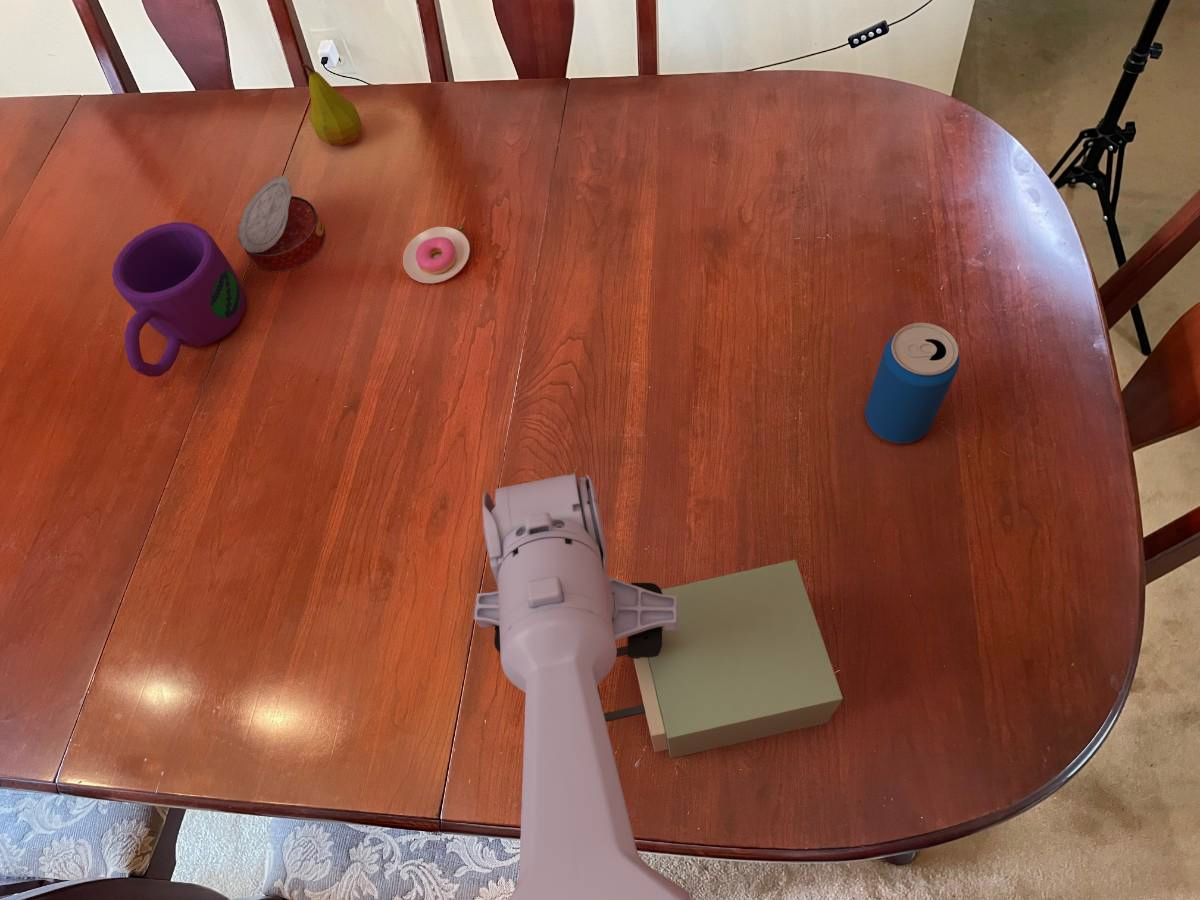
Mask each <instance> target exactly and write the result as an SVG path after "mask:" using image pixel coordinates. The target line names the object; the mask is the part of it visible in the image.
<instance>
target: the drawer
mask: <svg viewBox="0 0 1200 900" xmlns="http://www.w3.org/2000/svg"><path fill="white" fill-rule="evenodd" d="M616 649H617V655H616V658H620V657H624V656H627V649H628V645H625V646H621V647H616ZM633 663H634V666H635V667H634V668H635V671H636V675H637V680H638V686H639V689H640V694H641V697H642V703H643V704H640V705H635V706H631V707H627V708H622V709H618V710H613V711H608V712H604V710H603V712H604V717H605V721H606V723H608V722H613V721H618V720H623V719H627V718H630V717H631V718H632V717H635V716H638V715H644V714H645V718H646V721H647V725H648V730H649V734H650V735H649V736H650V740H651V743H652V748H653V752H654V753H659V752H663V751H667V750H668V743H667V736H666V730H665V726H664V722H663V717H662V713H661V709H660V704H659V700H658V696H657V691H656V687H655V683H654V679H653V674H652V670H651V666H650V661H649V657H640V658H639V659H633ZM597 688H598V692H599V696H600V700H601V704H602V708H603V709H604V706H603V702H602V701H603V700H602V696H601V691H600V686H599V685H598V686H597Z"/></svg>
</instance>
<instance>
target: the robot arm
mask: <svg viewBox="0 0 1200 900" xmlns="http://www.w3.org/2000/svg"><path fill="white" fill-rule="evenodd" d="M494 494H495V495H494V502H495V503H494V502H493V499H492V496H491V495H490V494H489V492H487V491H485V492H483V494H482V527H483V534H484V535H483V536H484V539H485V546H486V550H487V555H488V558H489V564H490V569H491V572H492V574H493V577H494V580H495V581H494V582H495V583H496V586H497V590H496V591H491V592H478V593H476V598H475V607H474V614H473V620H474V621H475V623H476V624H477V625H478V628H482V629H483V628H484V629H485V628H486V629H489V628H490V629H491V628H494V640H493V641H494V642H493V643H494V644H493V645H494V648H495V649H496V651H497V652H498V653H499V655H500V666H501V669H502V672H503V673H504V676H505V677H506V679H507V680H508V681H509V682H510V683H511V684H512V685H513V686H514V687H516V689H518V690H520V691H522V692H523V693H524V694H525V700H524V701H525V702H524V725H523V726H524V727H523V755H522V757H523V758H522V782H521V783H522V784H521V809H520V810H521V812H520V839H519V840H520V841H519V842H520V843H519V864H518V865H519V867H518V879H517V882H516V886H515V888H514V890H513V892H512V893H511V895H510V896H509V898H508V899H507V900H692V899H691V895H690V893H689V892H688V891H687V890H686V889H685V888H683V887H682V886H681V885H679V884H678V883H676V882H674V881H673V880H671V879H669V878H668V877H667V876H665V875H664V874H662V873H660V872H659V871H657V870H656V869H654V868H653V867H651V866H649V865H648V864H647V863H646V861H644V860H643V859H642V858H641V856H640V854H639V852H638V849H637V844H636V840H635V837H634V833H633V828H632V824H631V820H630V816H629V812H628V808H627V803H626V800H625V795H624V791H623V787H622V782H621V780H620V774H619V771H618V766H617V762H616V759H615V755H614V749H613V745H612V742H611V738H610V734H609V729H608V724H607V722H606V721H605V717H604V713H605V712H603V711H604V707H603V708H602V706H603V703H602V704H601V701H602V699H601V700H600V696H601V695H600V696H599V692H598V688H597V686H599V684H600V683H601V682H602V681H603V680H604V679H605V678H606V677H607V676H608V675H609V674H610V672H611V670H612V669H613V667H614V665H615V664H616V660H617V657H616V655H617V649H616V648H617V643H616V641H619V640H622V639H625V638H627V646H628V649H627V655H626V656H627V658H630V659H633V660H634V659H639V658H640V657H656V656H658V655H659V653H660V651H661V648H662V628H663V629H664V630H666V631H677V596H676V595H663V594H662V591H661V590H662V589H661V587H660V586H659V585H657V584H655V583H654V582H631V583H629V582H626V581H623V580H620V579H617V578H615V577H612V576H609V574H608V567H607V563H608V562H607V561H608V546H607V545H608V544H607V540H606V534H605V529H604V524H603V520H602V518H603V517H602V514H601V508H600V504H599V499H598V494H597V489H596V486H595V484H594V482H593V480H592V478H590V475H589V474H586V475H585V476H582V477H579V478H578V476H577V473H576V472H573V473H567V474H562V475H557V476H553V477H547V478H542V479H538V480H533V481H527V482H523V483H518V484H512V485H508V486H502V487H497V488H496V490H495V493H494Z"/></svg>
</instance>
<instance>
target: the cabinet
mask: <svg viewBox="0 0 1200 900" xmlns="http://www.w3.org/2000/svg"><path fill="white" fill-rule="evenodd" d="M801 574H802V573H801V571H800V568H799V565H798V563H797V560H796V559H792V560H787V561H782V562H778V563H773V564H769V565H765V566H760V567H756V568H752V569H747V570H743V571H738V572H733V573H729V574H725V575H720V576H716V577H712V578H708V579H707V578H706V579H702V580H698V581H693V582H689V583H685V584H680V585H676V586H671V587H667V588H662V589H661V591H662V594H663V595H676V596H677V631H666V630H664V629H663V628H662V648H661V651H660V653H659V655H658V656H656V657H649V661H650V666H651V670H652V674H653V679H654V683H655V687H656V691H657V696H658V700H659V704H660V709H661V713H662V717H663V722H664V726H665V730H666V736H667V743H668V749H667V750H668V754H669V758H670V759H675V758H679V757H683V756H688V755H689V756H690V755H693V754H698V753H701V752H705V751H710V750H714V749H719V748H723V747H729V746H732V745H737V744H741V743H746V742H750V741H753V740H759V739H763V738H769V737H772V736H776V735H780V734H784V733H790V732H793V731H798V730H802V729H807V728H811V727H815V726H820V725H824V724H828V723H829V721H830V720H831V718H832V716H833V715H834V713H835V712H836V710H838V709H837V708H838V707H839V705H840V704H841V703H842V701H843V699H844V698H843V694H842V692H841V689H840V685H839V683H838V679H837V676H836V674H835V671H834V668H833V665H832V662H831V660H830V659H831V658H830V656H829V654H828V650H827V646H826V643H825V642H824V639H823V635H822V632H821V629H820V627H819V624H818V621H817V618H816V615H815V612H814V609H813V606H812V604H811V600H810V598H809V595H808V592H807V589H806V586H805V583H804V581H803V577H802V575H801Z"/></svg>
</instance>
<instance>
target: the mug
mask: <svg viewBox="0 0 1200 900" xmlns="http://www.w3.org/2000/svg"><path fill="white" fill-rule="evenodd" d="M111 273H112V274H111V276H112V281H113V285H114V287H115V289H116V290H117V291H118V293H119V294H120V295H121V297H122V298H123V299H124V300H125V301H126V302H127V303H128V304H129V306H131V308H132V309H133V310H134V311H135V312H136V313H134V314H133V315H132V316H131V318H130V320H129V321H128V322H127V324H126V328H125V333H124V347H125V348H124V349H125V353H126V357H127V361H128V363H129V365H130V367H131V368H132V369H133V370H134V371H136V372H137V373H138V374H140V375H143V376H145V377H149V378H153V377H155V378H156V377H162V376H163V375H164V374H166V373H167V372H169V370H171V368H172V367H173V365H174V363H175V362H176V361H177V358H178V356H179V354H180V351H181V346H184V347H200V346H201V347H202V346H205V345H209V344H211V343H214V342H216V341H219V340H220V339H222V338H224V337H225V336H226V335H228V334H230V333H231V331H233V330H234V329H235V328H236V326H237V325H238V324H239V323H240V320H241V319H242V317H243V315H244V313H245V309H246V295H245V292H244V289H243V287H242V284H241V282H240V280H239V277H238V275H237V274H236V272H235V270H234V269H233V267H232V265H231V264H230V262H229V261H228V259H227V257H226V256H225V253H223V251H222V250H221V248H220V247H219V245H218V244H217V243H216V241H215V240H214V238H213V237H212V236H211V235H210V233H208V231H207V230H206V229H203V228H202V227H201V226H198V225H197V224H195V223H189V222H185V221H181V222H180V221H179V222H178V221H176V222H175V221H174V222H168V223H163V224H159V225H157V226H153V227H151V228H149V229H146V230H144V231H143V232H141V233H139V234H138V235H136V236H135V237H133V238H132V239H131V240H130V241H129V242H128V243H126V245H124V247H123V248H122V249H121V250H120V252H119V253H118V255H117V257H116V259H115V261H114V263H113V267H112V272H111ZM146 324H148V325H150V327H152V329H154V330H155V331H156V332H157V333H159V334H160V335H162V336H163V337H164V338H165V339H167V344H166V348H165V350H164V352H163V354H162V356H161V358H160V359H159V361H157V363H155V364H153V363H149V362H145V360H144V359H143V355H142V351H141V344H140V336H141V335H140V334H141V331H142V329H143V328H144V326H145V325H146Z"/></svg>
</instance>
